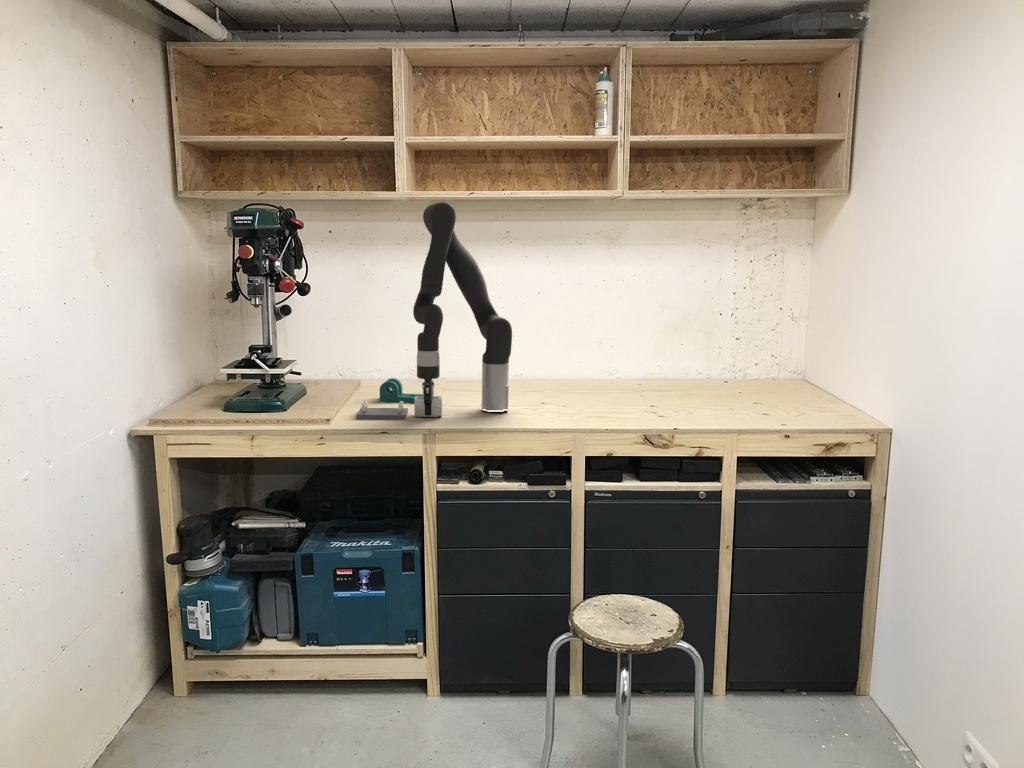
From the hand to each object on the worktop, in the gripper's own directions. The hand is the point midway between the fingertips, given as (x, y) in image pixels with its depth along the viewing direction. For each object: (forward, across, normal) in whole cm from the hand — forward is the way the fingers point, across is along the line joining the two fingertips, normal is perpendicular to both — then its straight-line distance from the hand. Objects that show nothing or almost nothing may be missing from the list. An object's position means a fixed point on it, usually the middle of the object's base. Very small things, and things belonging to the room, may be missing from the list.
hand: (428, 413), depth 231 cm
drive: (+1, 0, 0) cm, 1 cm away
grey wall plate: (+1, 0, +15) cm, 15 cm away
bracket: (+2, +23, +9) cm, 25 cm away
